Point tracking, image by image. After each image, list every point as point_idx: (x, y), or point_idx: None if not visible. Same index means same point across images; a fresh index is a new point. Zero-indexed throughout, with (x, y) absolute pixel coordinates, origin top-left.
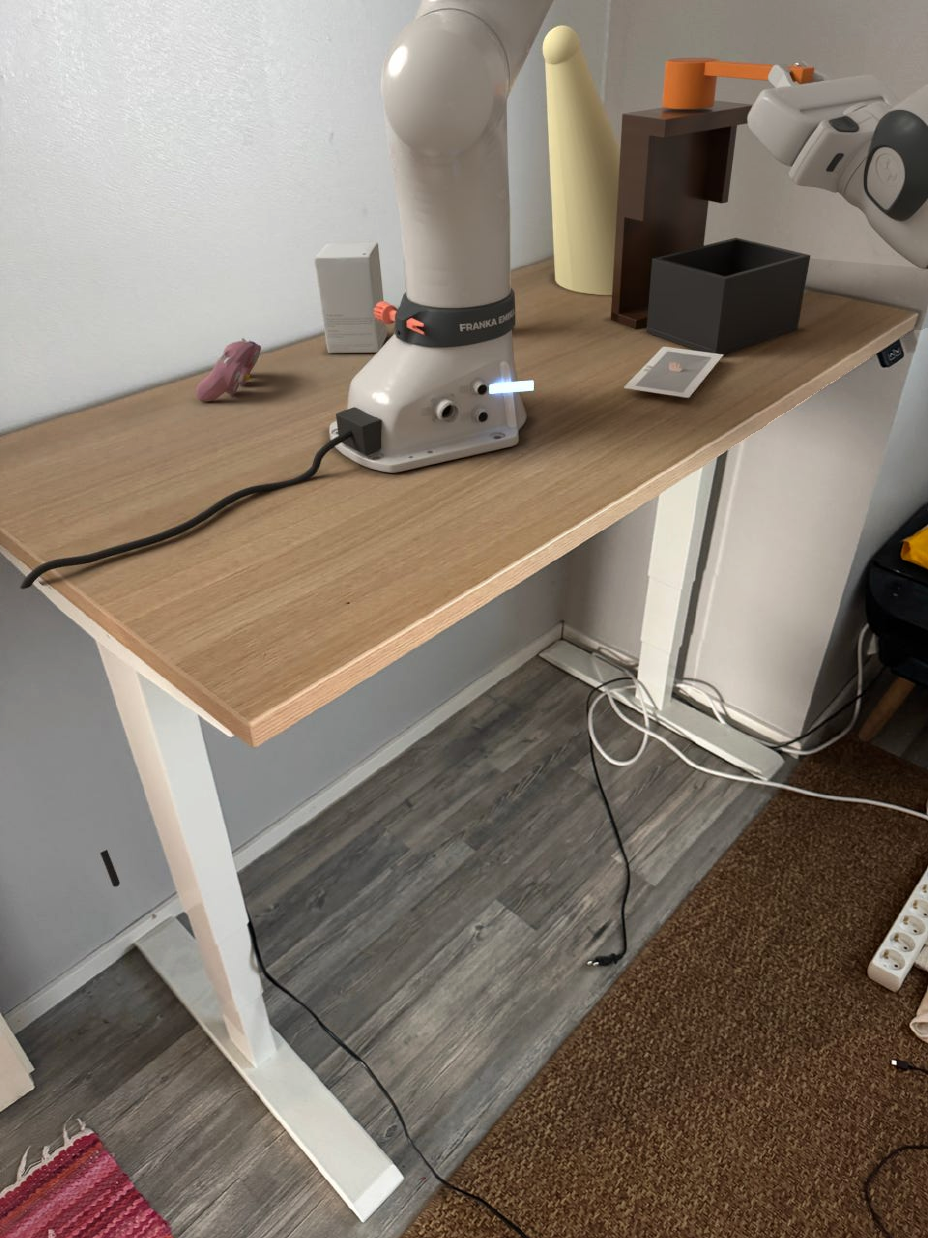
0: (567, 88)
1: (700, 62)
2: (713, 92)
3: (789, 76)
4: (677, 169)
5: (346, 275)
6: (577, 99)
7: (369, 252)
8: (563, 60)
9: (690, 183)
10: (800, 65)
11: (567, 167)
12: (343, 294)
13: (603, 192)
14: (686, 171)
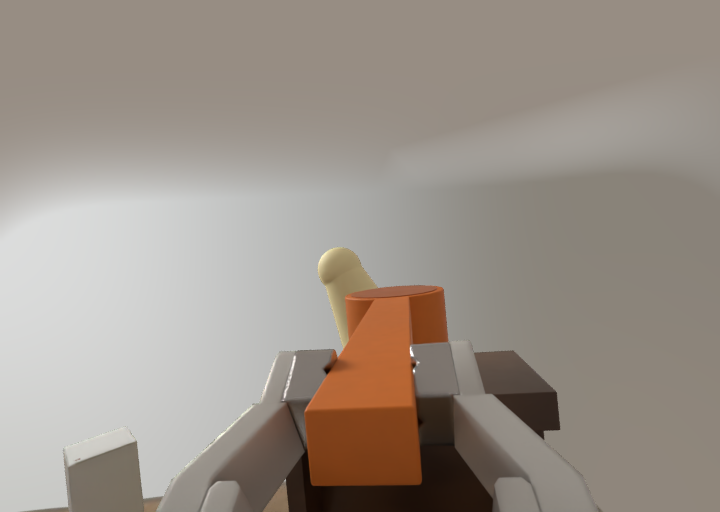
0: (336, 311)
1: (365, 300)
2: None
3: (251, 432)
4: (428, 467)
5: (66, 475)
6: (346, 324)
7: (85, 458)
8: (327, 282)
9: (471, 496)
10: (419, 364)
11: None
12: (67, 492)
13: None
14: (454, 473)
